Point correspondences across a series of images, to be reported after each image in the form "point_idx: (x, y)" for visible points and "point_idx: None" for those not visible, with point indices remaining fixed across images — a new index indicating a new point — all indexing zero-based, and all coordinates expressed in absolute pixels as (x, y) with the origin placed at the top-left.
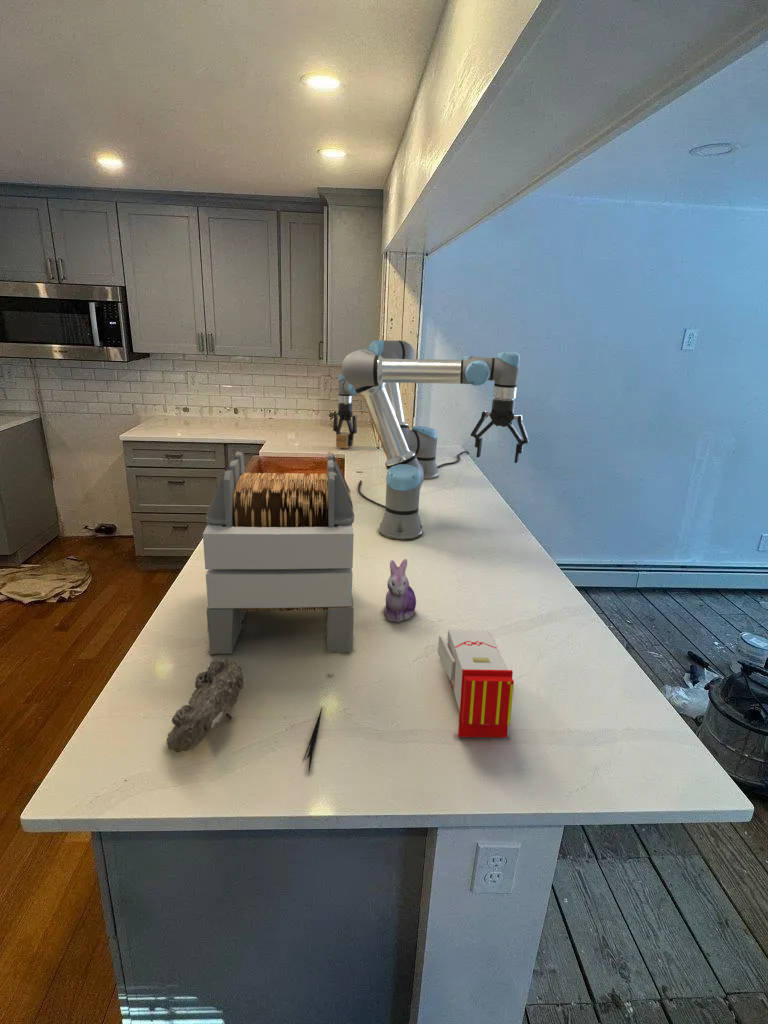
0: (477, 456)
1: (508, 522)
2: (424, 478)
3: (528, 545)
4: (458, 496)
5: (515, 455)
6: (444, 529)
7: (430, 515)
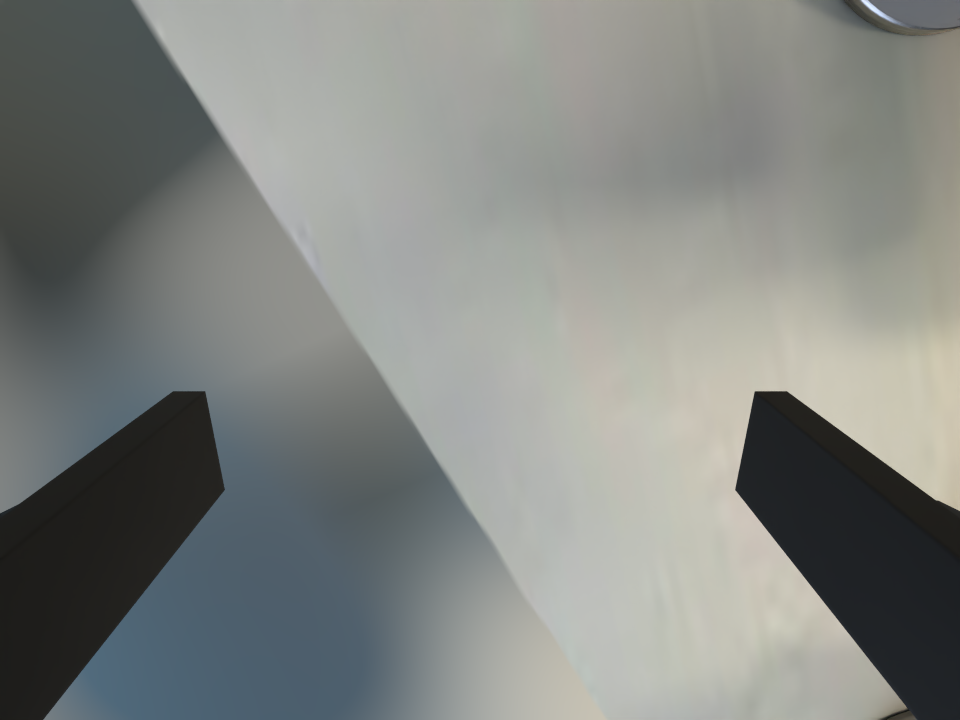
0: (778, 397)
1: (412, 378)
2: (905, 717)
3: (225, 103)
4: (712, 589)
5: (133, 449)
6: (698, 95)
7: (808, 272)
